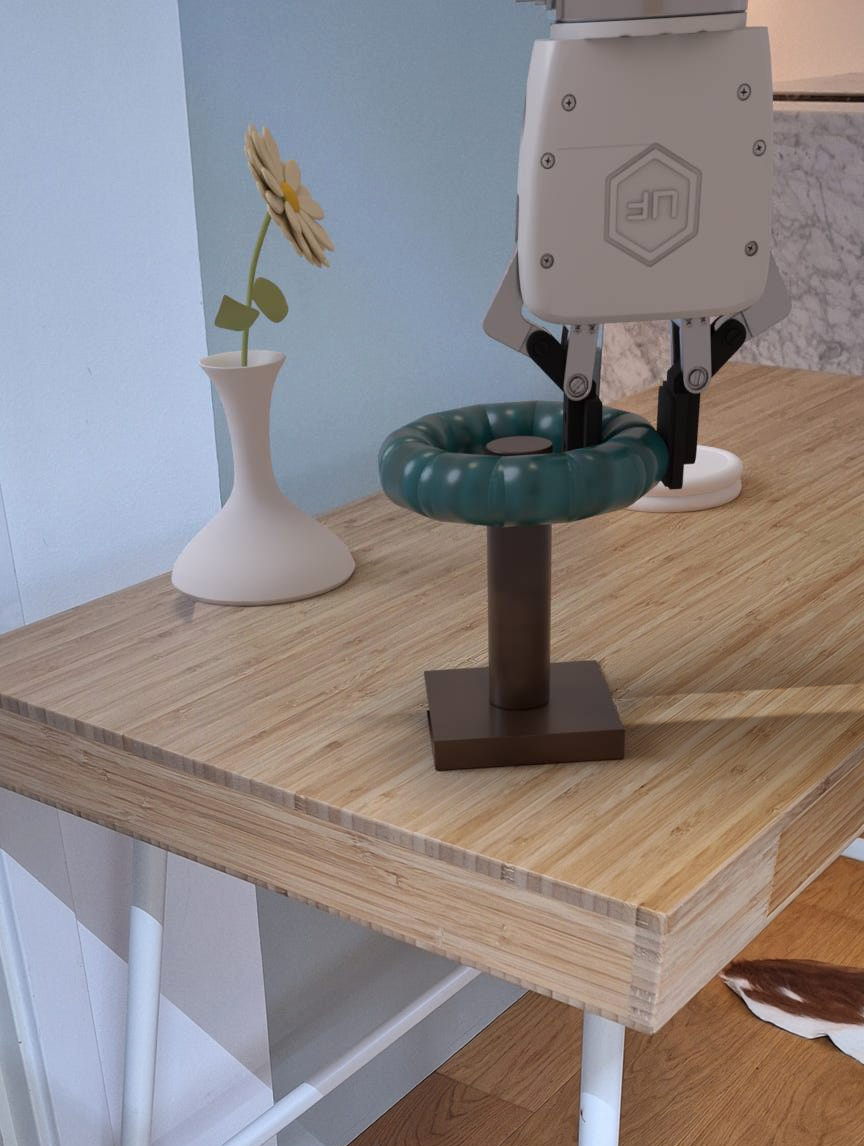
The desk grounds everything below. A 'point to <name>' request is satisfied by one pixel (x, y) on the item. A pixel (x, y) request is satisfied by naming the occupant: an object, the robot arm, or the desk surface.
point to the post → (521, 667)
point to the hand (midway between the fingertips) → (627, 480)
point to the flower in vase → (262, 432)
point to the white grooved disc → (698, 484)
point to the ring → (518, 466)
